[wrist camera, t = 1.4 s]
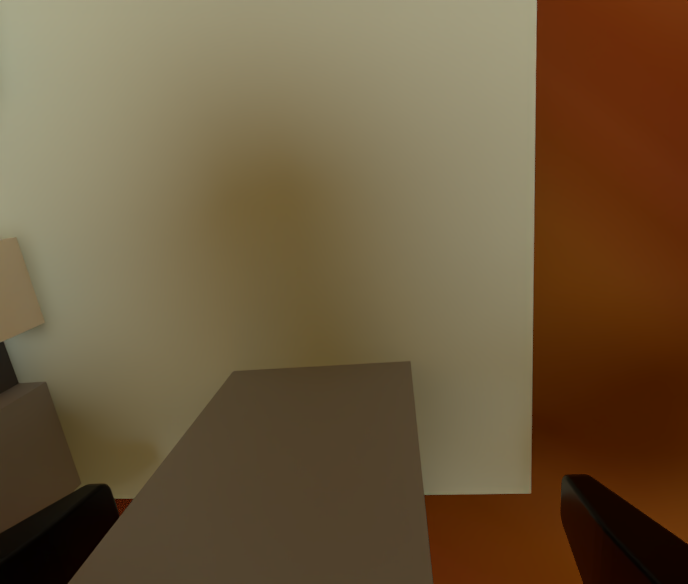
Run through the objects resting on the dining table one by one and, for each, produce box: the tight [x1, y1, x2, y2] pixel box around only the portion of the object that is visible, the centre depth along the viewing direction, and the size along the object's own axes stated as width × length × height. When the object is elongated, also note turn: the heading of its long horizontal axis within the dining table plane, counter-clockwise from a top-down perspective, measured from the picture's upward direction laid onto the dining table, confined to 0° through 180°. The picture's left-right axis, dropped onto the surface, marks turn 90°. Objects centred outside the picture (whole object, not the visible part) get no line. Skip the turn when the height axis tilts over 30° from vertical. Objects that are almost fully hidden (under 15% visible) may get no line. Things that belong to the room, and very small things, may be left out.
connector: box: [68, 361, 433, 584], centre depth 6 cm, size 4×4×7 cm
